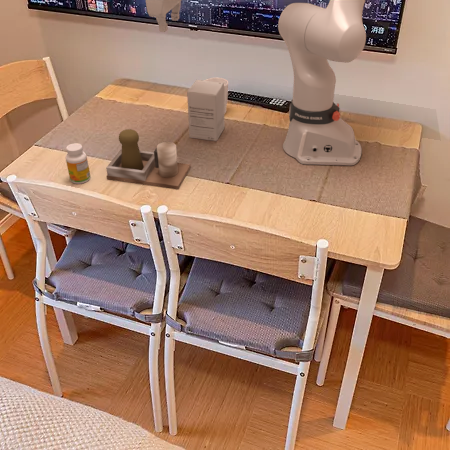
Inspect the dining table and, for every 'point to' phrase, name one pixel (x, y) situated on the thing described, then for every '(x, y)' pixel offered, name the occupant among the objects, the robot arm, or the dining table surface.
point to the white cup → (224, 89)
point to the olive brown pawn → (130, 150)
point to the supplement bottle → (77, 164)
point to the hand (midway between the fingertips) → (169, 25)
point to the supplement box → (206, 110)
